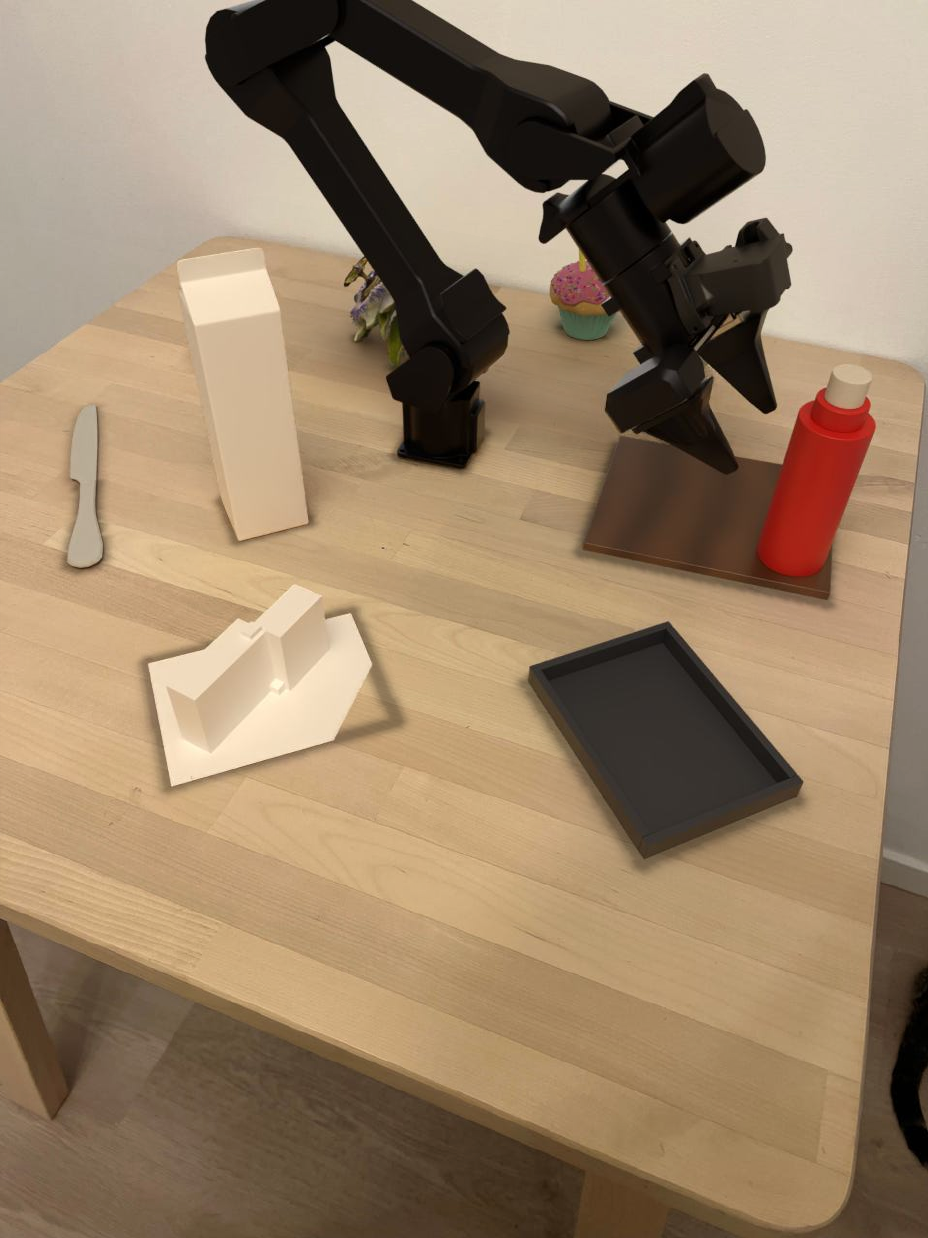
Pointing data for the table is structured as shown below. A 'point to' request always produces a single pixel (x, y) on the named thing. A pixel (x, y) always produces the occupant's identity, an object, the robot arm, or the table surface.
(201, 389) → the milk
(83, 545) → the butter knife
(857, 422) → the ketchup
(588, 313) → the cupcake
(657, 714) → the baking tray
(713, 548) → the serving board
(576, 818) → the table surface
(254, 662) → the white building model
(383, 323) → the passion flower
